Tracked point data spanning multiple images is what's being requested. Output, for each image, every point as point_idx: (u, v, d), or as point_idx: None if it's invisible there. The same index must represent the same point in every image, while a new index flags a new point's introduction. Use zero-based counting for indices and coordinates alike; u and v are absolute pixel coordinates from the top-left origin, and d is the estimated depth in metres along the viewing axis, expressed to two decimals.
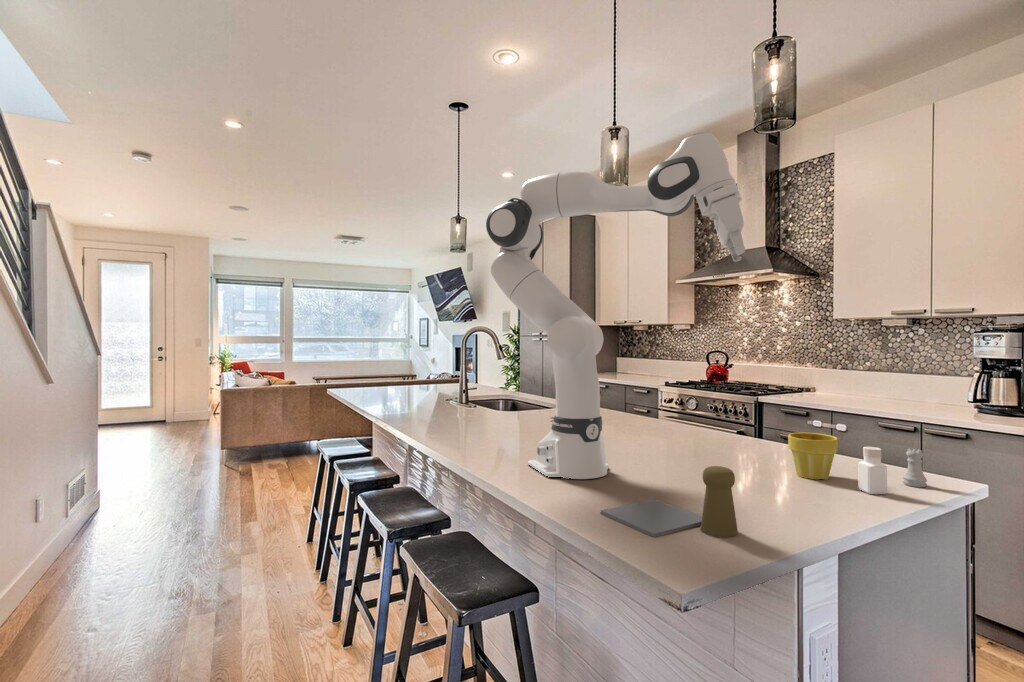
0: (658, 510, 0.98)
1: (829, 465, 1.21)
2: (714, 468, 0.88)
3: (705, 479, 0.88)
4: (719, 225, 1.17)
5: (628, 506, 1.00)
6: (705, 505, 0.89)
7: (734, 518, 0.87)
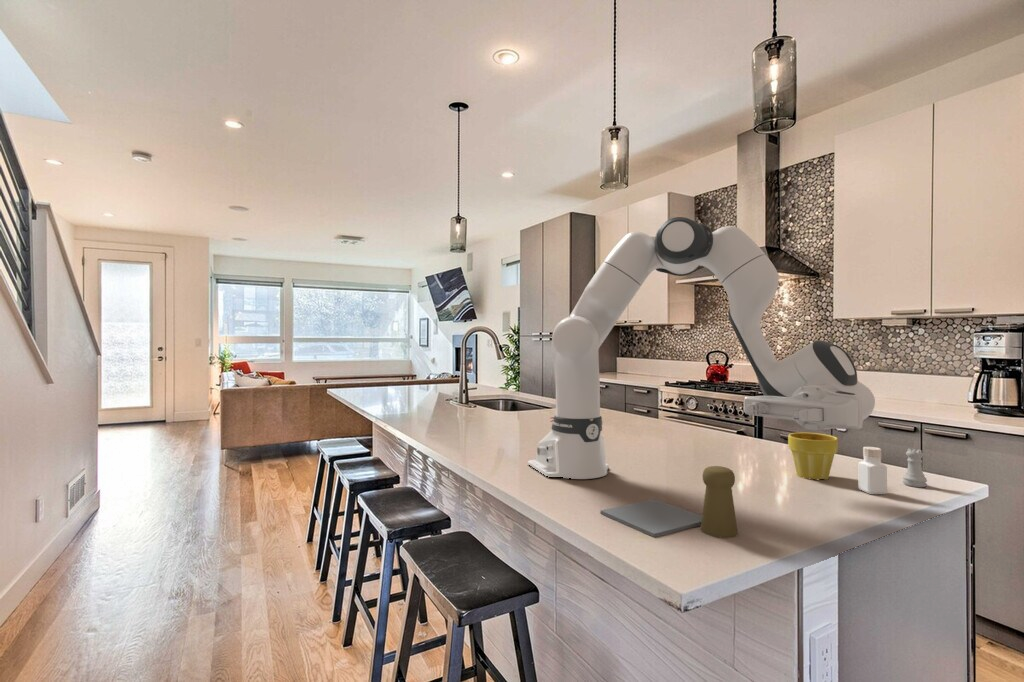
0: (658, 510, 0.98)
1: (829, 465, 1.21)
2: (714, 468, 0.88)
3: (705, 479, 0.88)
4: (802, 400, 0.99)
5: (628, 506, 1.00)
6: (705, 505, 0.89)
7: (734, 518, 0.87)
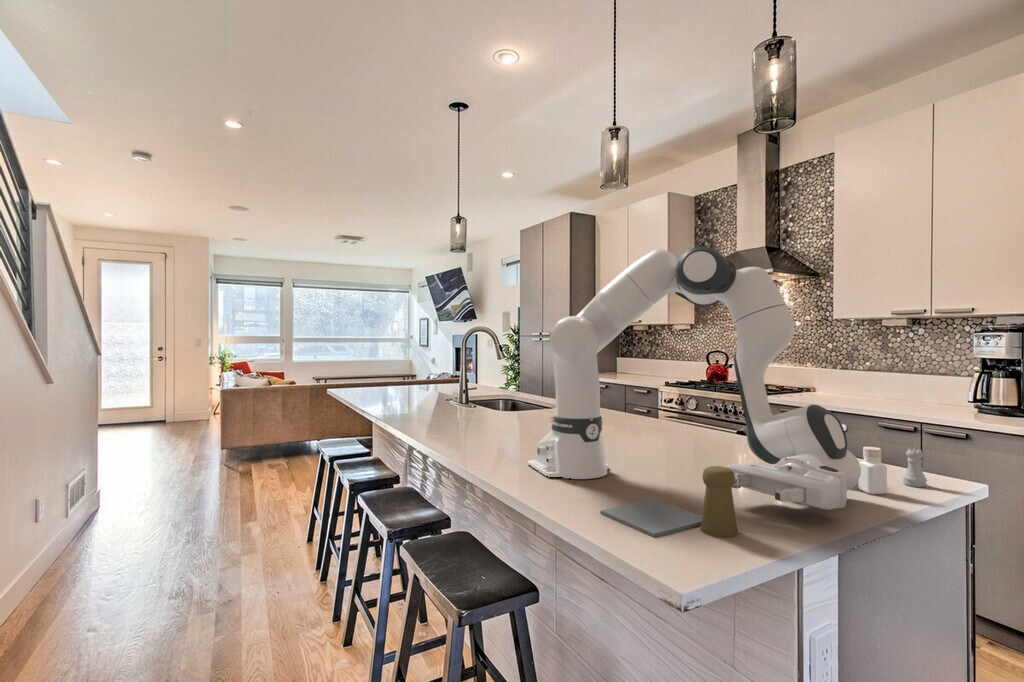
0: (658, 510, 0.98)
1: None
2: (714, 468, 0.88)
3: (705, 479, 0.88)
4: (785, 474, 0.97)
5: (628, 506, 1.00)
6: (705, 505, 0.89)
7: (734, 518, 0.87)
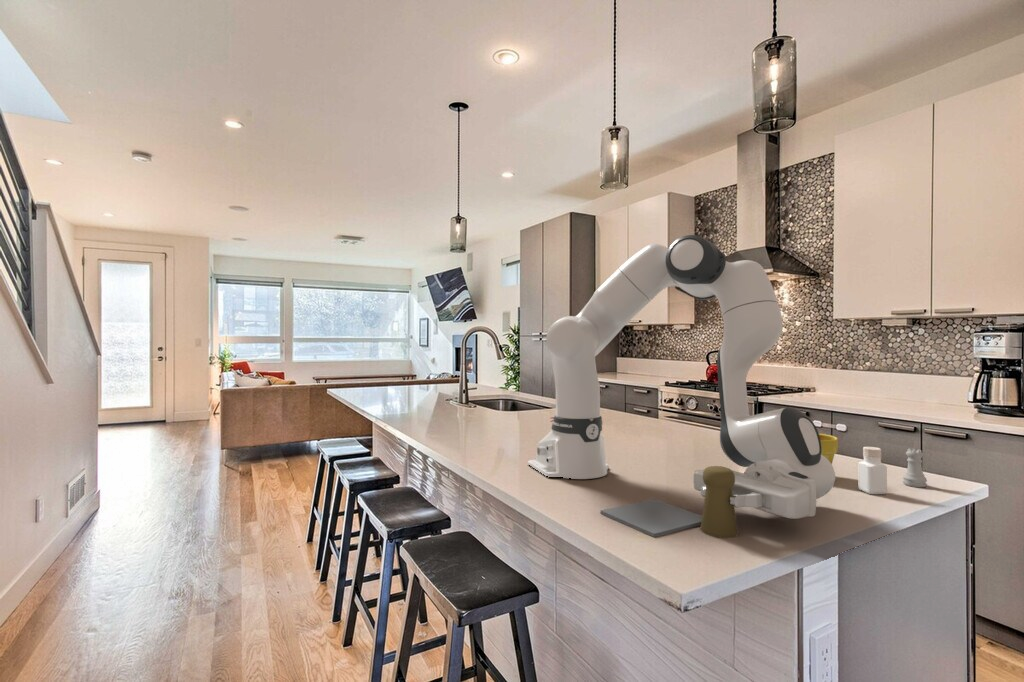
0: (658, 510, 0.98)
1: None
2: (714, 468, 0.88)
3: (705, 479, 0.88)
4: (752, 480, 0.92)
5: (628, 506, 1.00)
6: (705, 505, 0.89)
7: (734, 518, 0.87)
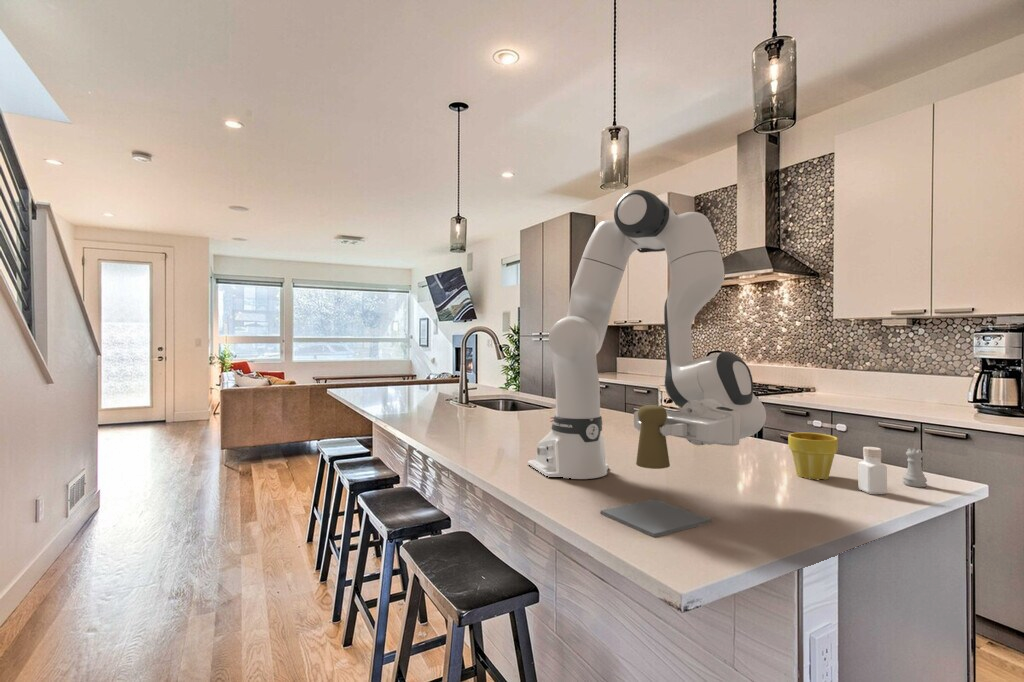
0: (658, 510, 0.98)
1: (829, 465, 1.21)
2: (648, 406, 0.95)
3: (640, 416, 0.95)
4: (684, 415, 0.99)
5: (628, 506, 1.00)
6: (640, 440, 0.95)
7: (666, 452, 0.94)
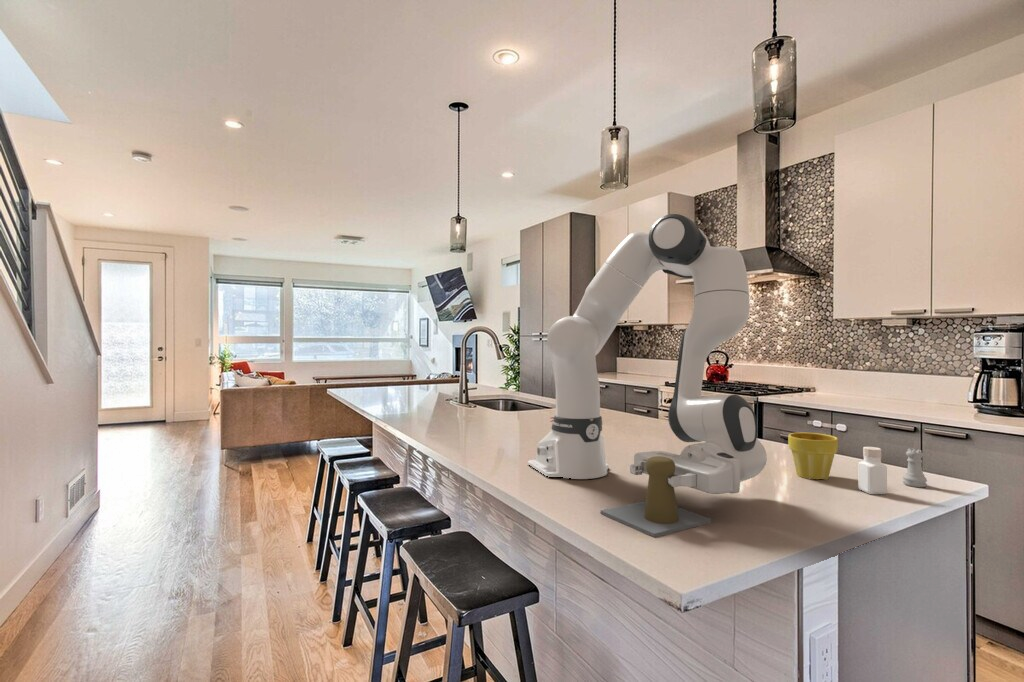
0: None
1: (829, 465, 1.21)
2: (656, 458, 0.93)
3: (648, 469, 0.93)
4: (684, 461, 0.99)
5: (628, 506, 1.00)
6: (648, 493, 0.93)
7: (675, 505, 0.92)
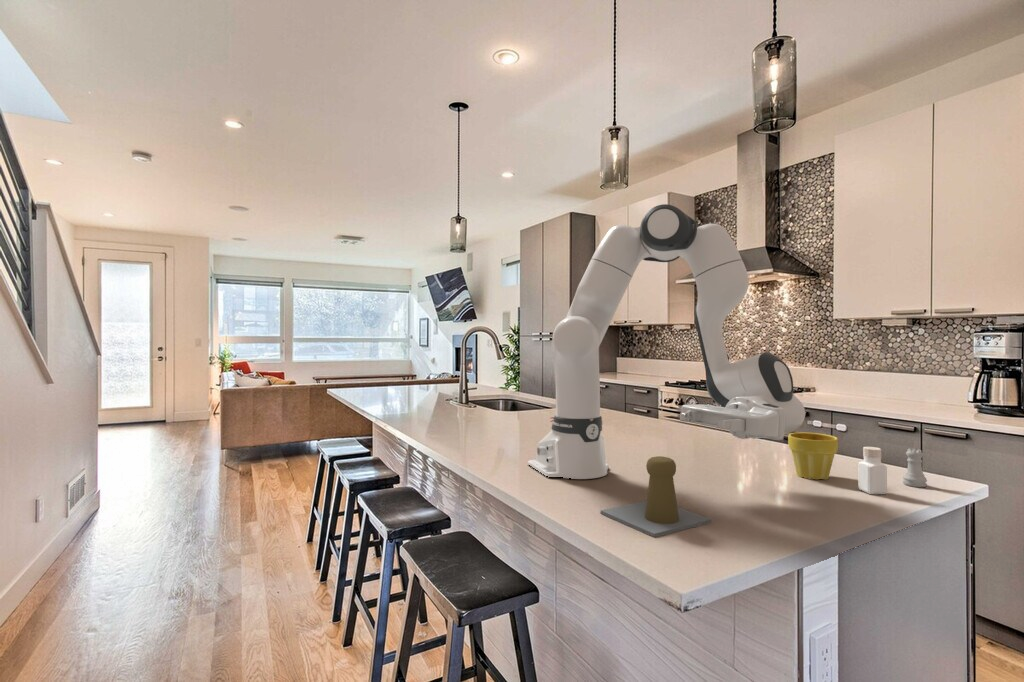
0: None
1: (829, 465, 1.21)
2: (657, 458, 0.93)
3: (648, 469, 0.93)
4: (731, 410, 1.06)
5: (628, 506, 1.00)
6: (649, 494, 0.93)
7: (676, 505, 0.92)
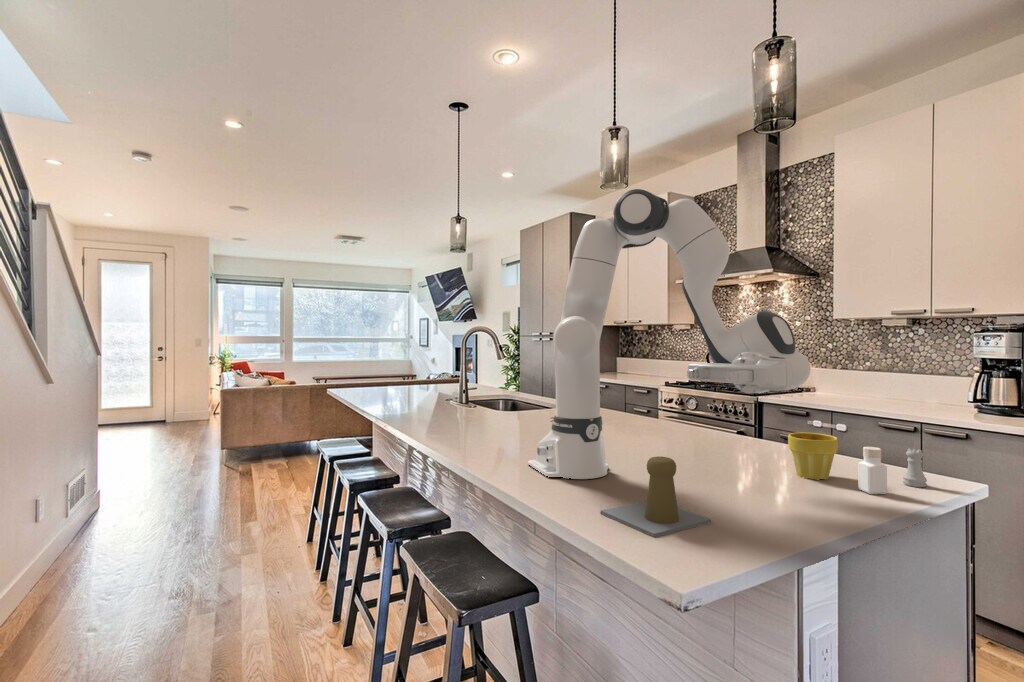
0: None
1: (829, 465, 1.21)
2: (657, 458, 0.93)
3: (649, 469, 0.93)
4: None
5: (628, 506, 1.00)
6: (649, 493, 0.93)
7: (676, 506, 0.92)
